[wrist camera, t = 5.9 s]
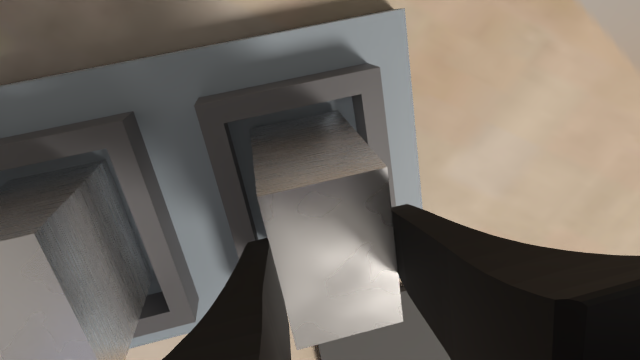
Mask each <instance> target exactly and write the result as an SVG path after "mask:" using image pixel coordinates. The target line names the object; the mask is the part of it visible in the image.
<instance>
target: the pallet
mask: <svg viewBox="0 0 640 360" xmlns="http://www.w3.org/2000/svg"><path fill="white" fill-rule="evenodd" d="M335 110H338V111H339V112H340V113H341V114H342V115H343V117H344V118H345V119H346V120H347V121H348V122H349V124H350V125H351V126H352V127H353V128H354V129H355V130H356V132H357V133H358V134H359V135H360V136H361V137H362V138H363V140H364V141H365V142H366V143H367V144H368V145H369V146H370V148H371V149H372V150H373V151H374V152H375V153H376V155H377V156H378V157H379V158H380V159H381V160H382V161H383V163H384V164H385V165H386V166H387V168H388V178H389V188H390V198H391V207H396V206H400V205H404V204H410V205H413V206H415V207H418V208H420V209H422V198H421V186H420V175H419V164H418V153H417V141H416V130H415V119H414V108H413V97H412V85H411V74H410V63H409V52H408V41H407V29H406V18H405V8H404V9H393V10H387V11H382V12H377V13H372V14H367V15H362V16H356V17H351V18H346V19H341V20H336V21H331V22H325V23H320V24H315V25H310V26H305V27H300V28H294V29H289V30H284V31H279V32H274V33H269V34H263V35H258V36H253V37H248V38H243V39H238V40H232V41H227V42H222V43H217V44H212V45H207V46H201V47H196V48H191V49H186V50H181V51H176V52H170V53H165V54H160V55H155V56H150V57H145V58H139V59H134V60H129V61H124V62H119V63H114V64H108V65H103V66H98V67H93V68H88V69H83V70H77V71H72V72H67V73H62V74H57V75H52V76H46V77H41V78H36V79H31V80H26V81H21V82H15V83H10V84H5V85H0V186H2V185H3V184H5V183H6V182H7V181H9V180H12V179H17V178H22V177H26V176H31V175H36V174H40V173H45V172H49V171H54V170H59V169H63V168H68V167H73V166H77V165H82V164H87V163H91V162H96V161H100V160H105V159H106V161H107V164H108V166H109V169H110V171H111V174H112V176H113V179H114V181H115V184H116V186H117V189H118V191H119V194H120V197H121V199H122V202H123V204H124V207H125V209H126V212H127V214H128V217H129V219H130V222H131V224H132V227H133V229H134V232H135V235H136V237H137V240H138V242H139V245H140V247H141V250H142V252H143V255H144V257H145V260H146V262H147V265H148V267H149V270H150V273H151V275H152V278H153V279H152V282H151V285H150V288H149V291H148V294H147V297H146V300H145V303H144V306H143V309H142V312H141V315H140V318H139V321H138V324H137V327H136V330H135V332H134V335H133V338H132V341H131V344H130V347H129V349H130V348H134V347H137V346H141V345H145V344H149V343H153V342H156V341H160V340H164V339H168V338H172V337H176V336H179V335H183V334H187V333H190V332H191V331H192V329H193V328H194V327H195V326H196V325H197V324H198V322H199V321H200V320H201V319H202V318H203V316H204V315H205V314H206V313H207V311H208V310H209V309H210V307H211V306H212V305H213V303H214V301H215V300H216V298H217V297H218V295H219V294H220V292H221V291H222V289H223V288H224V286H225V284H226V283H227V281H228V279H229V277H230V276H231V274H232V272H233V270H234V268H235V266H236V264H237V263H238V261H239V258H240V256H241V254H242V252H243V250H244V248H245V246H246V244H247V243H248V242H251V241H255V240H259V239H264V238H267V234H266V230H265V226H264V222H263V218H262V215H261V211H260V207H259V203H258V199H257V193H256V183H255V174H254V164H253V155H252V145H251V136H250V129H251V128H255V127H260V126H265V125H269V124H274V123H279V122H283V121H288V120H293V119H297V118H302V117H307V116H311V115H316V114H321V113H325V112H330V111H335ZM399 278H400V277H399Z"/></svg>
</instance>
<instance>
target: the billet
mask: <svg viewBox="0 0 640 360" xmlns="http://www.w3.org/2000/svg"><path fill="white" fill-rule="evenodd" d="M152 279H153V278H152V275H151V273H150V270H149V267H148V265H147V262H146V260H145V257H144V255H143V252H142V250H141V247H140V245H139V242H138V240H137V237H136V235H135V232H134V229H133V227H132V224H131V222H130V219H129V217H128V214H127V212H126V209H125V207H124V204H123V202H122V199H121V197H120V194H119V191H118V189H117V186H116V184H115V181H114V179H113V176H112V174H111V171H110V169H109V166H108V164H107V161H106V159H105V160H100V161H96V162H91V163H87V164H82V165H77V166H73V167H68V168H63V169H59V170H54V171H49V172H45V173H40V174H36V175H31V176H26V177H22V178H17V179H12V180H9V181H7V182H6V183H5V184H3V185H2V186H0V360H125V359H126V356H127V353H128V350H129V347H130V344H131V341H132V338H133V335H134V332H135V330H136V327H137V324H138V321H139V318H140V315H141V312H142V309H143V306H144V303H145V300H146V297H147V294H148V291H149V288H150V285H151V282H152Z"/></svg>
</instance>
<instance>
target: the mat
mask: <svg viewBox="0 0 640 360" xmlns="http://www.w3.org/2000/svg"><path fill="white" fill-rule="evenodd" d="M400 295H401V305H402V314H403V322H400V323H396V324H392V325H388V326H385V327H381V328H377V329H374V330H370V331H366V332H362V333H359V334H355V335H351V336H347V337H344V338H340V339H336V340H333V341H329V342H325V343H321V344H318V347H319V352H320V356H321V360H451V359H450V357H449V356H448V354H447V352H446V351H445V349H444V348H443V346H442V345H441V343H440V342H439V340H438V339H437V337H436V336H435V334H434V333H433V331H432V330H431V328H430V327H429V325H428V324H427V322H426V321H425V319H424V318H423V316H422V315H421V313H420V312H419V310H418V309H417V307H416V306H415V304H414V303H413V301H412V299H411V298H410V296H409V295H408V293H407V291H406V289H405V287H404V286H402V287H400Z"/></svg>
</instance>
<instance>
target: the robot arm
mask: <svg viewBox="0 0 640 360" xmlns="http://www.w3.org/2000/svg"><path fill="white" fill-rule="evenodd" d="M391 212H392V221H393V231H394V241H395V250H396V260H397V270H398V275H399V277H400V279H401V281H402V283H403V285H404V287H405V289H406V291H407V293H408V295H409V296H410V298H411V299H412V301H413V303H414V304H415V306H416V307H417V309H418V310H419V312H420V313H421V315H422V316H423V318H424V319H425V321H426V322H427V324H428V325H429V327H430V328H431V330H432V331H433V333H434V334H435V336H436V337H437V339H438V340H439V342H440V343H441V345H442V346H443V348H444V349H445V351H446V352H447V354H448V356H449V357H450V359H451V360H640V256H621V255H606V254H594V253H583V252H574V251H566V250H559V249H553V248H547V247H540V246H535V245H530V244H525V243H521V242H517V241H512V240H508V239H504V238H500V237H497V236H493V235H490V234H487V233H484V232H481V231H477V230H474V229H471V228H469V227H466V226H463V225H460V224H458V223H455V222H452V221H450V220H447V219H445V218H442V217H440V216H437V215H435V214H433V213H430V212H428V211H425V210H423V209H420V208H418V207H415V206H413V205H410V204H404V205H400V206H396V207H392V210H391ZM162 360H291V351H290V335H289V323H288V317H287V311H286V306H285V301H284V297H283V293H282V290H281V286H280V282H279V278H278V274H277V270H276V266H275V263H274V259H273V255H272V251H271V247H270V243H269V240H268V238H264V239H259V240H255V241H251V242H248V243H247V244H246V246H245V248H244V250H243V252H242V254H241V256H240V258H239V261H238V263H237V264H236V266H235V268H234V270H233V272H232V274H231V276H230V277H229V279H228V281H227V283H226V284H225V286H224V288H223V289H222V291H221V292H220V294H219V295H218V297H217V298H216V300H215V301H214V303H213V305H212V306H211V307H210V309H209V310H208V311H207V313H206V314H205V315H204V316H203V318H202V319H201V320H200V321H199V322H198V324H197V325H196V326H195V327H194V328H193V329H192V331H191V332H190V333H189V334H188V335H187V336H186V337H185V338H184V339H183V340H182V341H181V342H180V343H179V344H178V345H177V346H176V347H175V348H174V349H173V350H172V351H171V352H170V353H169V354H168V355H167V356H166V357H165V358H163V359H162Z"/></svg>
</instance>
